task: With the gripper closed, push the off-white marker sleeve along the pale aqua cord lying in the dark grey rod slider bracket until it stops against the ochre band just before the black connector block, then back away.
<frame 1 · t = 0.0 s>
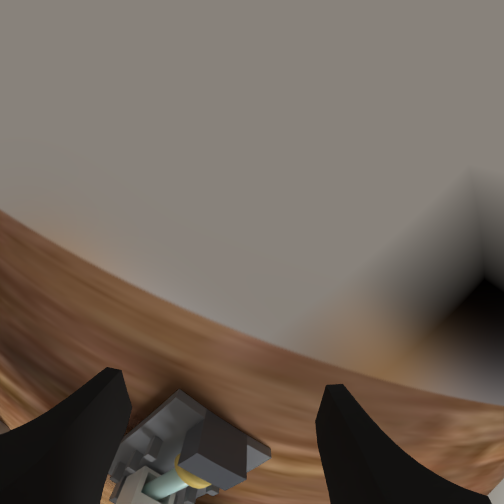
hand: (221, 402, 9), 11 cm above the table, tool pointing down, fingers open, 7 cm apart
sleeve: (145, 499, 18), point 4 cm above the table, slide at 0.0 cm
band: (202, 440, 21), resting on rod slider bracket
rod slider bracket: (173, 459, 22), on the table
salt shaker: (6, 430, 23), on the table
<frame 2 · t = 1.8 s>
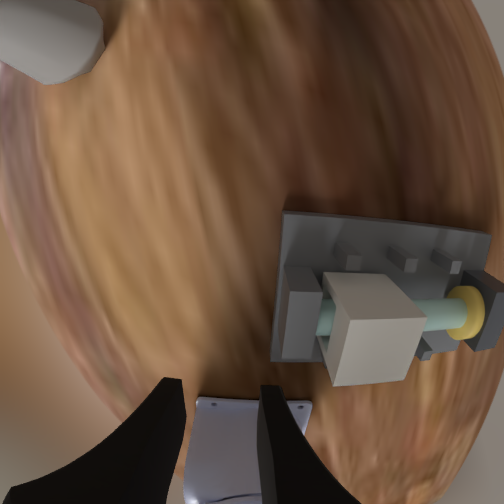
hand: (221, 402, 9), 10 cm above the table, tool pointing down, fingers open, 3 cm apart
sleeve: (363, 324, 15), point 4 cm above the table, slide at 0.0 cm
band: (438, 291, 19), resting on rod slider bracket
rod slider bracket: (389, 291, 19), on the table
salt shaker: (82, 52, 14), on the table
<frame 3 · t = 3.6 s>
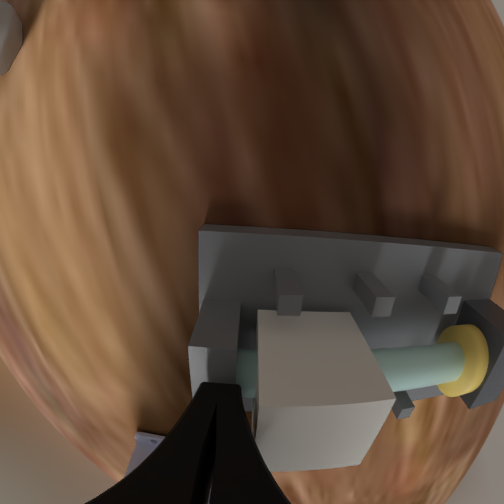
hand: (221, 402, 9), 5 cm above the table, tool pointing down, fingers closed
sleeve: (307, 388, 10), point 4 cm above the table, slide at 0.0 cm, touching gripper
band: (429, 326, 14), resting on rod slider bracket
rod slider bracket: (360, 329, 14), on the table
salt shaker: (5, 51, 9), on the table
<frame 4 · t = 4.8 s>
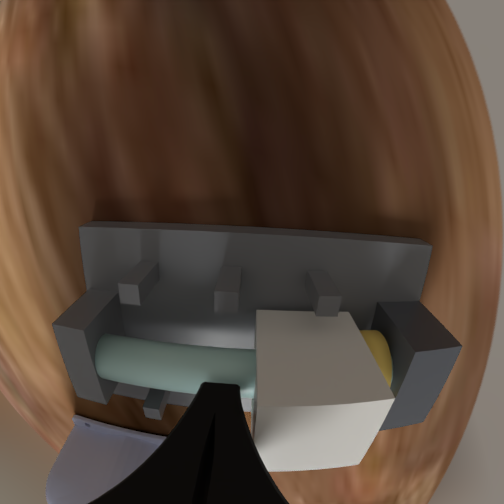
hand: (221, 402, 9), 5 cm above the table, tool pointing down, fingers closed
sleeve: (306, 387, 10), point 4 cm above the table, slide at 5.6 cm, touching band, gripper
band: (342, 329, 14), resting on rod slider bracket
rod slider bracket: (251, 327, 14), on the table
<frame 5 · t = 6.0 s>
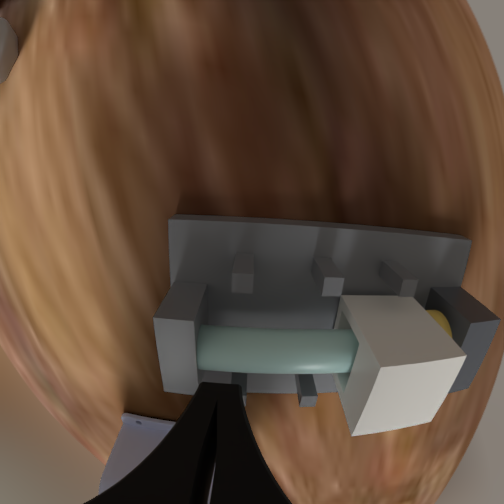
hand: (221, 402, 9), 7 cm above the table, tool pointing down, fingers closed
sleeve: (388, 359, 11), point 4 cm above the table, slide at 5.6 cm, touching band
band: (398, 312, 16), resting on rod slider bracket
rod slider bracket: (325, 313, 16), on the table
salt shaker: (2, 62, 11), on the table
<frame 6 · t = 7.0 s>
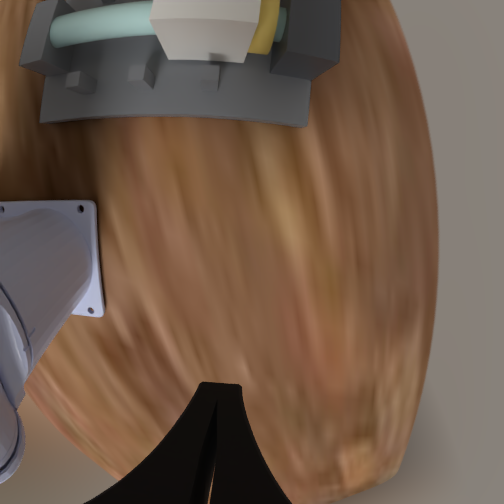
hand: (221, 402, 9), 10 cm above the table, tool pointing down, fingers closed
sleeve: (209, 10, 10), point 4 cm above the table, slide at 5.6 cm, touching band
band: (252, 44, 14), resting on rod slider bracket
rod slider bracket: (175, 40, 13), on the table
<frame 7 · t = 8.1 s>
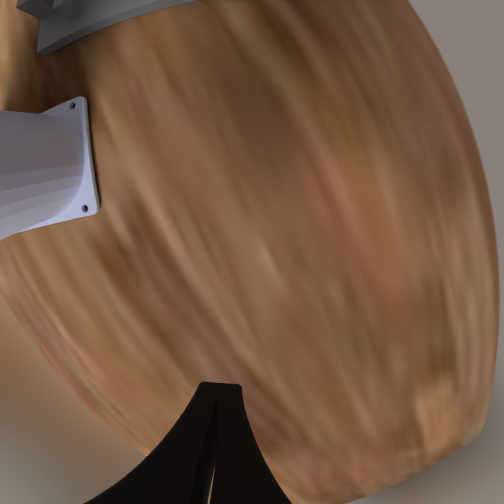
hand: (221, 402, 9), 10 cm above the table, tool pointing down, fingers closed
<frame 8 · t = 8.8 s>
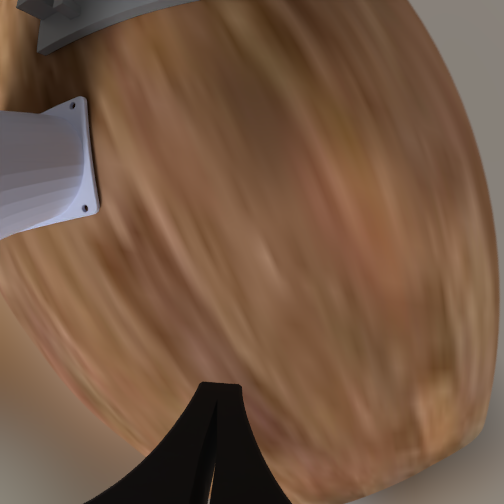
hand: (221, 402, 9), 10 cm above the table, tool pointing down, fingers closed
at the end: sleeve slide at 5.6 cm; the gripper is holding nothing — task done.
